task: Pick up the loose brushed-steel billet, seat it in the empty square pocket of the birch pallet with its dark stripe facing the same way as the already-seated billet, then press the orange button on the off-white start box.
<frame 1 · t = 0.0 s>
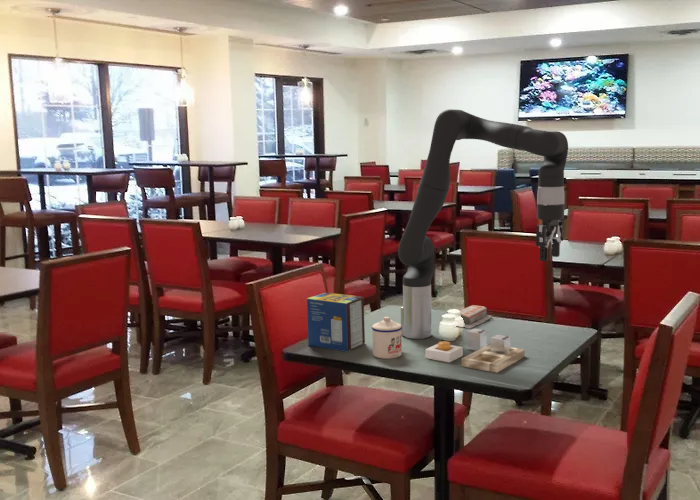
hand: (549, 258, 207), 29 cm above the table, fingers open, 8 cm apart
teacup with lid: (389, 354, 218), on the table
steel billet: (477, 349, 220), on the table
pallet: (493, 362, 207), on the table
start box: (444, 358, 213), on the table
start button: (444, 346, 212), point 4 cm above the table, slide at 0.0 cm
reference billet: (500, 357, 211), resting on pallet
packaged product: (468, 323, 255), on the table
protein box: (336, 345, 230), on the table
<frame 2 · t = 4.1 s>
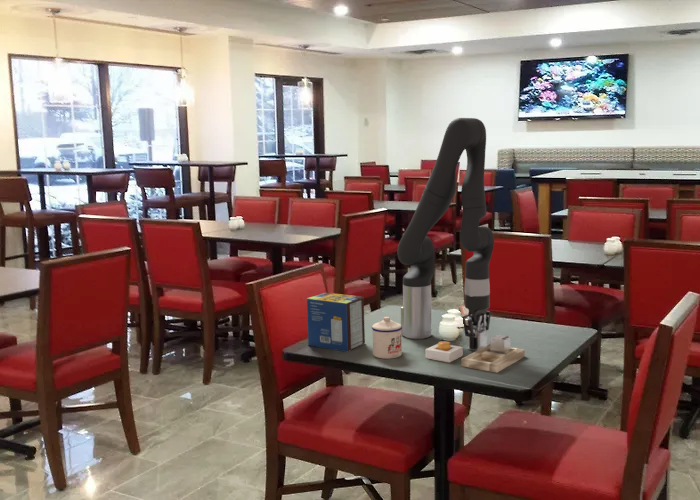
hand: (477, 346, 220), 1 cm above the table, fingers closed on steel billet, 4 cm apart
steel billet: (477, 349, 220), on the table, touching gripper
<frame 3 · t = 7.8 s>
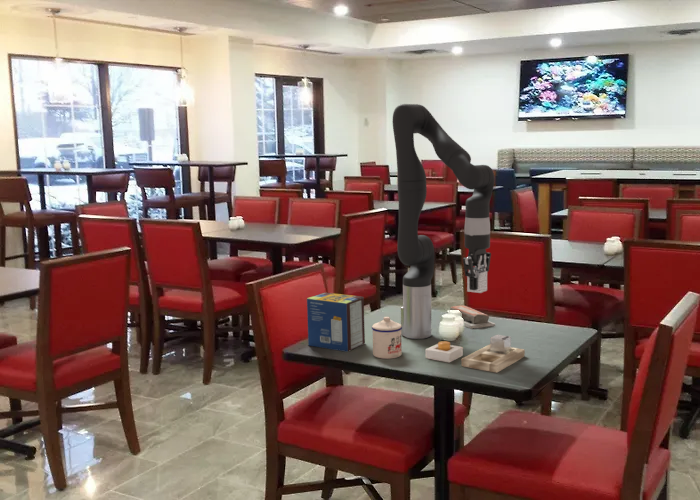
hand: (477, 288, 217), 19 cm above the table, fingers closed on steel billet, 4 cm apart
steel billet: (477, 290, 218), point 18 cm above the table, touching gripper
when the fingers open (3 cm above the table, at t = 11.6 s): steel billet drops 1 cm, resting on pallet.
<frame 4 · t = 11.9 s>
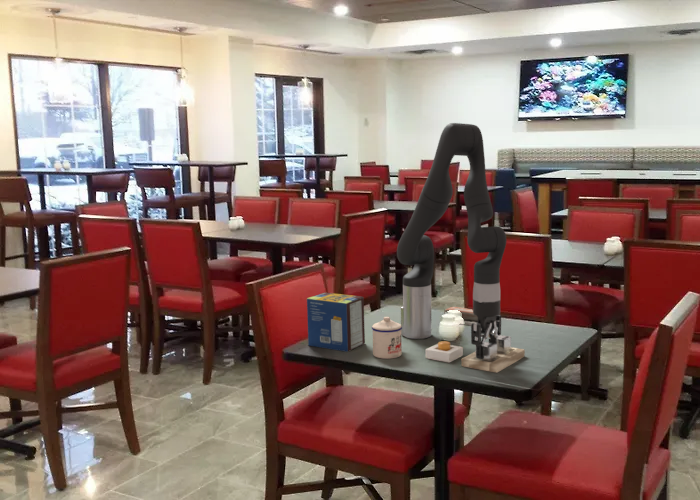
hand: (486, 354, 203), 3 cm above the table, fingers open, 7 cm apart
steel billet: (486, 365, 204), resting on pallet
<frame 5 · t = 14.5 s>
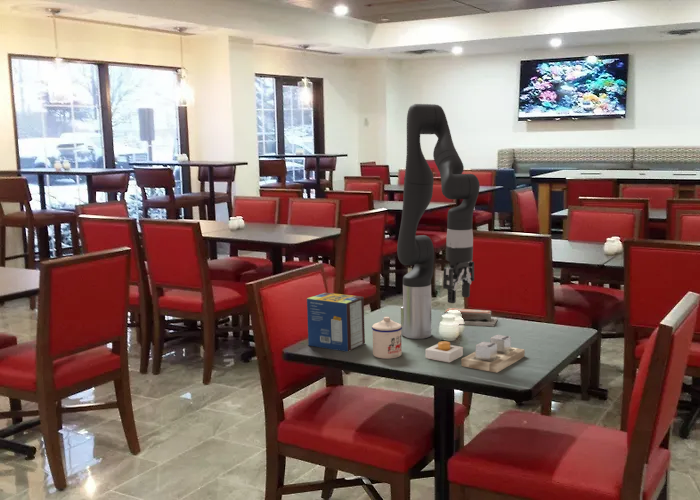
hand: (458, 299, 207), 18 cm above the table, fingers open, 8 cm apart
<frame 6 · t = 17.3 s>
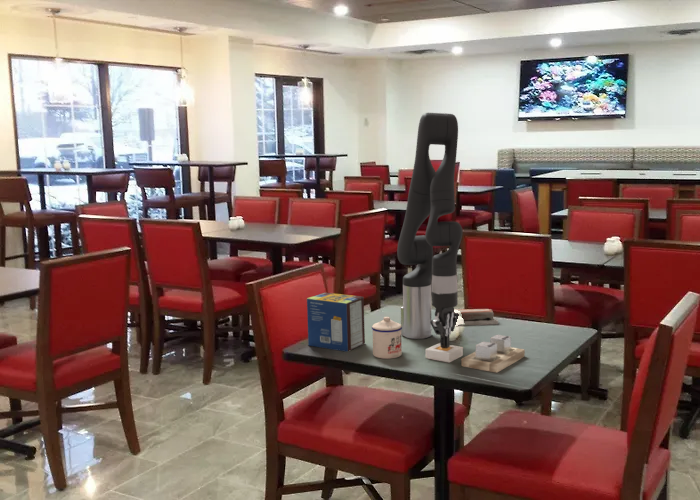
hand: (445, 347, 212), 3 cm above the table, fingers closed
start button: (444, 350, 212), point 2 cm above the table, slide at 1.4 cm, touching gripper
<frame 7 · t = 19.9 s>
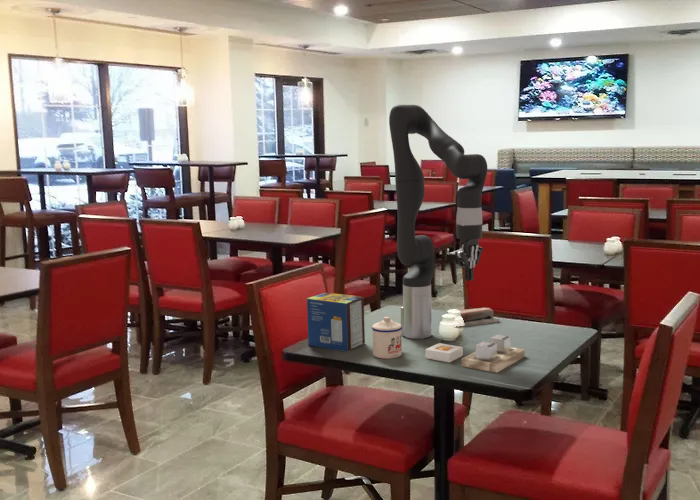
hand: (469, 280, 215), 22 cm above the table, fingers closed
start button: (444, 351, 212), point 2 cm above the table, slide at 1.6 cm, touching start box
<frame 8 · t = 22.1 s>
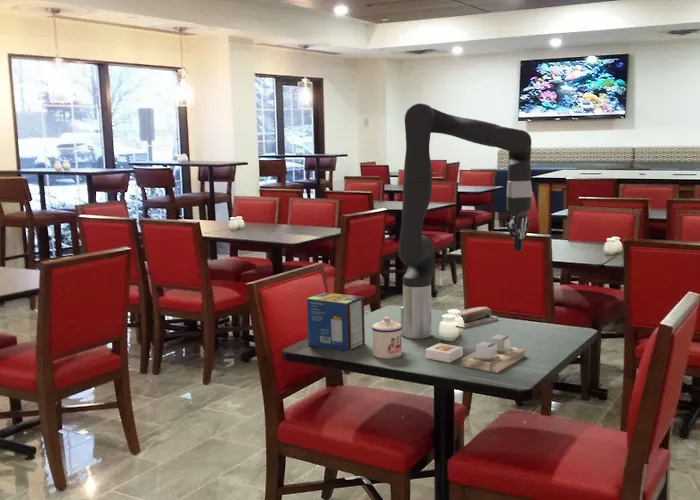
hand: (518, 250, 225), 29 cm above the table, fingers closed
at the end: steel billet 0.0 cm from the target spot on the pallet, point 0.4 cm above the pallet's base; steel billet tilted 0°; start button slide at 1.6 cm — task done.
